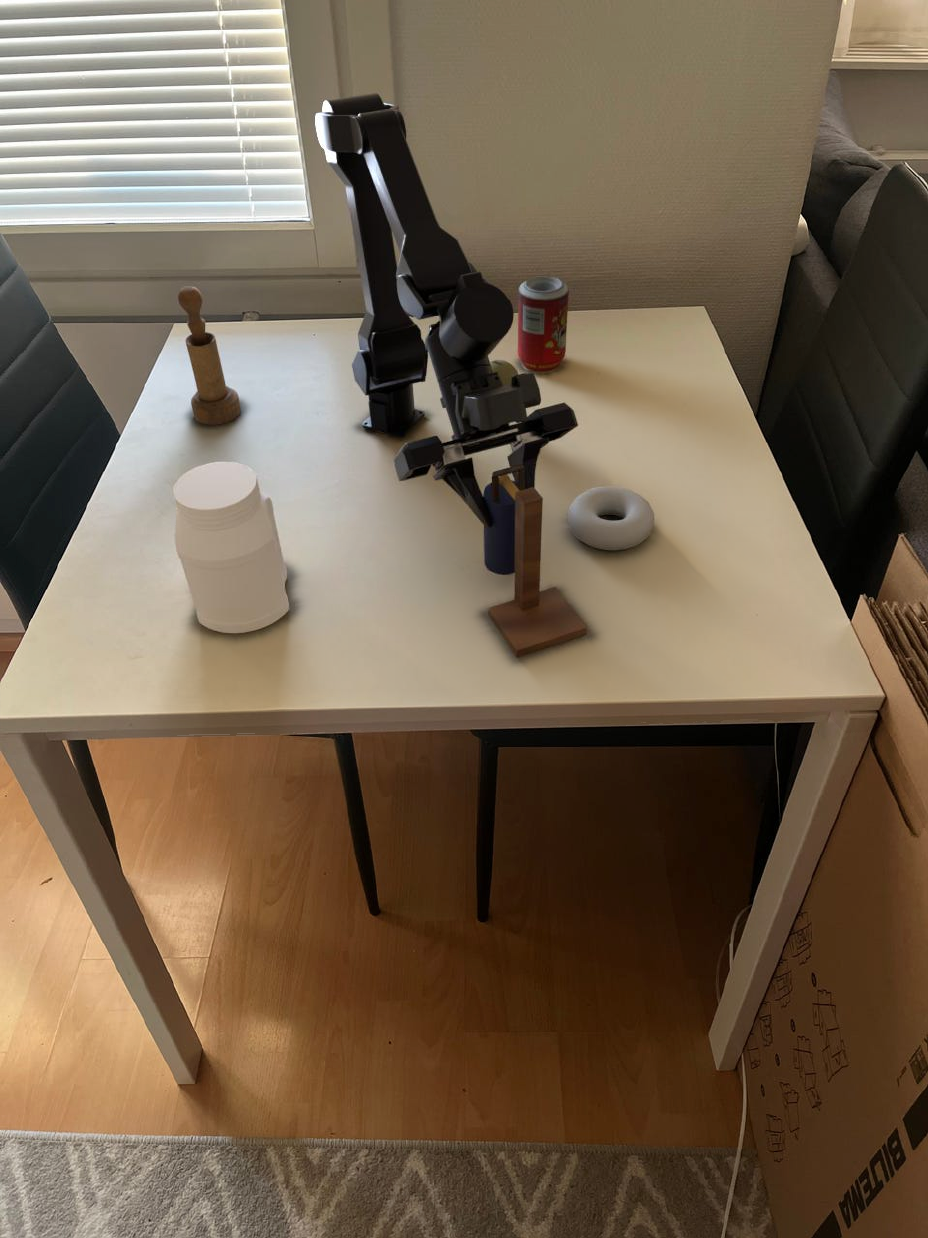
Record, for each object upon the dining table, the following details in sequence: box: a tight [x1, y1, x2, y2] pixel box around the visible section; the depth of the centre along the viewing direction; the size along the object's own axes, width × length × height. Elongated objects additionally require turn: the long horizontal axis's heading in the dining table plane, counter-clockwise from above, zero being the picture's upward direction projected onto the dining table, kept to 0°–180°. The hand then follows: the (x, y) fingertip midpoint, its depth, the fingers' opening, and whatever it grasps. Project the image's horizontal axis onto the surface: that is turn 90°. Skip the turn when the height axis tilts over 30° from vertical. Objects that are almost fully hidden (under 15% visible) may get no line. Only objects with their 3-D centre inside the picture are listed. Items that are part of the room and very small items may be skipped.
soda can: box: [517, 275, 570, 374], centre depth 133 cm, size 7×7×12 cm
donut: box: [567, 485, 655, 551], centre depth 107 cm, size 10×4×10 cm
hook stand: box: [488, 474, 588, 658], centre depth 93 cm, size 12×8×15 cm, turn 23°
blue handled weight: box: [482, 464, 525, 576], centre depth 96 cm, size 4×4×13 cm
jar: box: [172, 461, 290, 634], centre depth 96 cm, size 12×10×15 cm
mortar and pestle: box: [177, 285, 242, 426], centre depth 123 cm, size 7×6×18 cm
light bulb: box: [489, 359, 519, 386], centre depth 121 cm, size 6×6×10 cm
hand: (510, 521), depth 95 cm, fingers closed on blue handled weight, 4 cm apart
